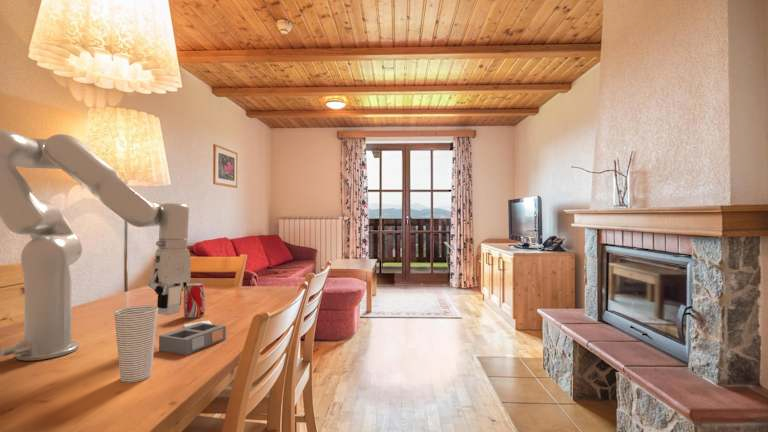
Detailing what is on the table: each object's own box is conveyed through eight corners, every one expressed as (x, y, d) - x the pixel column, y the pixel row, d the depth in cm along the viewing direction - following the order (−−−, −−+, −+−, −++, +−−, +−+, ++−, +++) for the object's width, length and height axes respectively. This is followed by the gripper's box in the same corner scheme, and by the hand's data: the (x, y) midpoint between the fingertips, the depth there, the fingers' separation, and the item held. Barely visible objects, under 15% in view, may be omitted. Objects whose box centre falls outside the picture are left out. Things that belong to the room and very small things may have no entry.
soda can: (199, 319, 139) (199, 285, 139) (179, 318, 139) (179, 285, 139) (208, 314, 146) (208, 282, 146) (189, 314, 146) (190, 282, 146)
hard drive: (183, 324, 128) (189, 333, 118) (209, 320, 133) (218, 328, 123) (183, 329, 128) (189, 338, 118) (209, 325, 133) (218, 333, 123)
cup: (109, 388, 83) (109, 315, 83) (118, 373, 91) (118, 307, 91) (154, 381, 86) (155, 312, 86) (160, 367, 94) (160, 304, 94)
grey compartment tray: (187, 355, 103) (187, 340, 103) (158, 350, 106) (159, 335, 106) (226, 339, 116) (226, 325, 116) (200, 335, 119) (200, 322, 119)
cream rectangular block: (167, 315, 112) (169, 287, 112) (157, 313, 114) (159, 286, 114) (179, 312, 116) (181, 286, 116) (169, 311, 117) (171, 284, 117)
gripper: (156, 246, 106) (152, 313, 106) (204, 244, 122) (201, 303, 121) (137, 244, 109) (133, 310, 108) (186, 243, 124) (183, 300, 124)
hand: (169, 305), depth 115 cm, fingers closed on cream rectangular block, 4 cm apart
